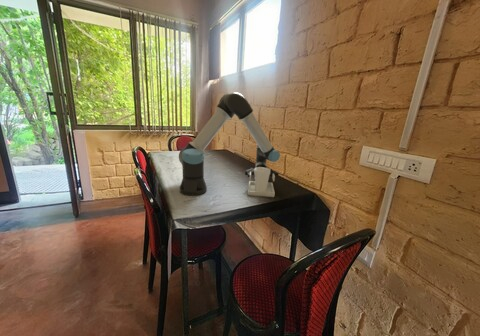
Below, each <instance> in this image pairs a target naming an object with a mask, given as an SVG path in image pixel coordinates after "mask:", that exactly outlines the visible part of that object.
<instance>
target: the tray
mask: <svg viewBox="0 0 480 336" xmlns="http://www.w3.org/2000/svg"><path fill="white" fill-rule="evenodd" d="M275 194H276V193H275V188H274V184H273V182H269V181H268V184H267V188H266V191H265V192H260V191H256V190H255V180H254V181H253V180H249V181H248V189H247V196H250V197H265V198H266V197H267V198H275Z"/></svg>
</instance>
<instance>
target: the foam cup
mask: <svg viewBox="0 0 480 336" xmlns="http://www.w3.org/2000/svg"><path fill="white" fill-rule="evenodd" d="M253 169H254V181H255V190H256V191H260V192H265V191H266V188H267V184H268V182H269V180H270V176H269V175H270V168H268V167H267V168H264V167H257V168H256V167H254V168H253Z"/></svg>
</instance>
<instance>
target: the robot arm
mask: <svg viewBox="0 0 480 336" xmlns="http://www.w3.org/2000/svg"><path fill="white" fill-rule="evenodd" d="M234 116H236V117H237V118H238V120H240V121H242V122H243V123H242V124H244V126H245V127H246V129H247V131H248V132H249V133H250V136H251V137H252V138H253V140H254V141H255V143H256V145H257V146H256V156H255V168H257V167H264V168H268V167H267V160H268V161H269V162H272V163H276V162H277V161H278V162H279V160H280V159H281V154H280V152H279V151H278V150H276V149H275V148H274V145H272V142H271V141H270V140H269V137H268V135H266V133H265V131H264V130H263V128H262V126H261V124H260V123H259V121H258V119H257V118H256V116H255V115H254V109H253V108H252V106H251V105H250V103H249V101H248V100H247V98H245V96H244V95H243V94H242V93H239V92H232V93H227V94H224V95H222V97H220V100H219V103H217V105H216V107H215V112H214V113H213V114H212V116H211V117H210V119H208V121H207V122H206V123H205V125H204V126H203V128H202V129H201V130H200V132H199V133H198V134H197V136H195V138H194V139H193V140H192V141H189V142H187V144H186V145H185V147H183V148H181V150H180V151H179V153H178V160H179V163H180V164H181V166H182V167H181V168H182V179H181V183H180V186H179V192H180V193H181V194H182V195H185V196H201V195H202V194H205V193H206V192H207V191H208V190H207V189H208V188H207V183H206V181H205V175H204V174H205V172H204V171H205V166H204V165H205V163H204V162H205V161H204V160H205V156H204V155H205V149H206V148H207V147H208V145H210V143H211V142H212V140H213V139H214V138H215V136H216V135H217V134H218V132H219V131H220V130H221V129H222V127H223V126H224V125H225V124H226V122H227V121H228V120H232V118H233V117H234ZM255 168H253V167H250V169H246V170H245V171H244V176H247V177H248V178H249V181H252V176H253V175H254V169H255ZM269 169H270V168H269ZM254 176H255V175H254ZM269 177H271V178H272V179H271V180H272V182H275V180H276V179H277V178H279V172H277V171H275V170H273V169H272V168H271V169H270V175H269Z"/></svg>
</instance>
